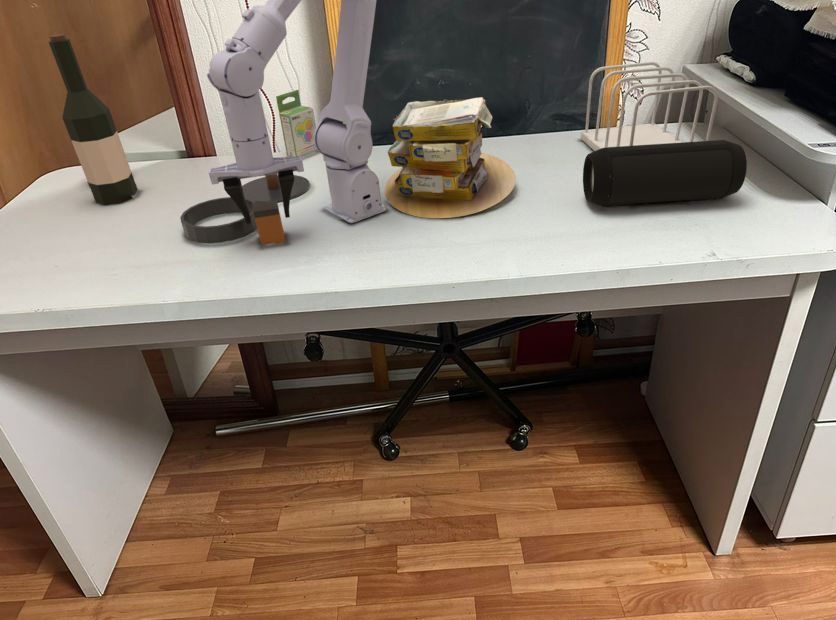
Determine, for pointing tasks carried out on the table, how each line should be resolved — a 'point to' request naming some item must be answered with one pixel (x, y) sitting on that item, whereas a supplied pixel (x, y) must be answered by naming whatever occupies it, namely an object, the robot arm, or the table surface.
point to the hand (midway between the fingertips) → (268, 218)
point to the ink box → (296, 125)
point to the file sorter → (643, 132)
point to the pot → (221, 231)
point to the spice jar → (268, 222)
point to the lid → (273, 188)
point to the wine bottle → (92, 132)
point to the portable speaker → (663, 173)
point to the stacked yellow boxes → (445, 161)
